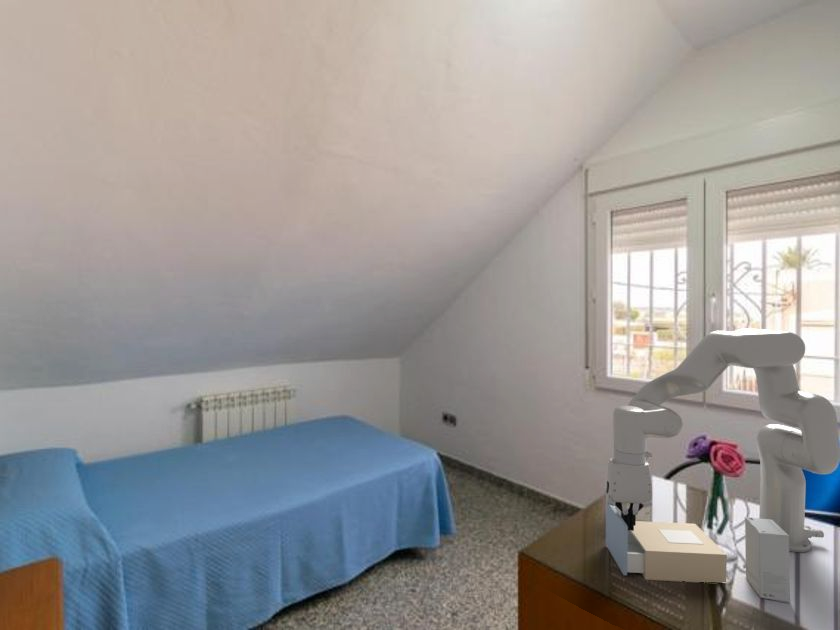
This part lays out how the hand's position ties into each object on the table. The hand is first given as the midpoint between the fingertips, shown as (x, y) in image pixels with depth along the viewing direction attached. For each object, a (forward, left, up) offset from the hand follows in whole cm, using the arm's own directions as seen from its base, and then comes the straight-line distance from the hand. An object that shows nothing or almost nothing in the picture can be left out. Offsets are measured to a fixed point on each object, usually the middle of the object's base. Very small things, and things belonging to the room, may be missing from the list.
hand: (628, 527), depth 110 cm
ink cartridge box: (-9, -20, -9) cm, 24 cm away
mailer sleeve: (-11, 0, -9) cm, 14 cm away
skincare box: (-28, +8, -9) cm, 30 cm away
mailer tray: (-6, 0, -8) cm, 10 cm away
